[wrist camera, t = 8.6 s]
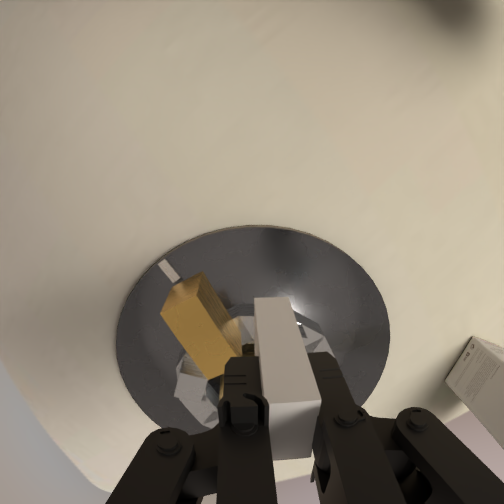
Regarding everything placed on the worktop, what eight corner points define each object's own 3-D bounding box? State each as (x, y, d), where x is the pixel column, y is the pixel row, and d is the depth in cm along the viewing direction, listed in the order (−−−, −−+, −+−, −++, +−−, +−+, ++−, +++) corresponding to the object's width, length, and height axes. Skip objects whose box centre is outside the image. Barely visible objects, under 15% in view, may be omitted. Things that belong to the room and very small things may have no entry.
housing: (70, 302, 24) (40, 333, 19) (333, 171, 23) (361, 175, 17) (206, 468, 31) (204, 504, 26) (404, 390, 29) (426, 423, 24)
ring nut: (349, 387, 27) (370, 431, 21) (228, 437, 28) (229, 484, 22) (269, 227, 22) (282, 251, 17) (122, 305, 23) (95, 345, 18)
